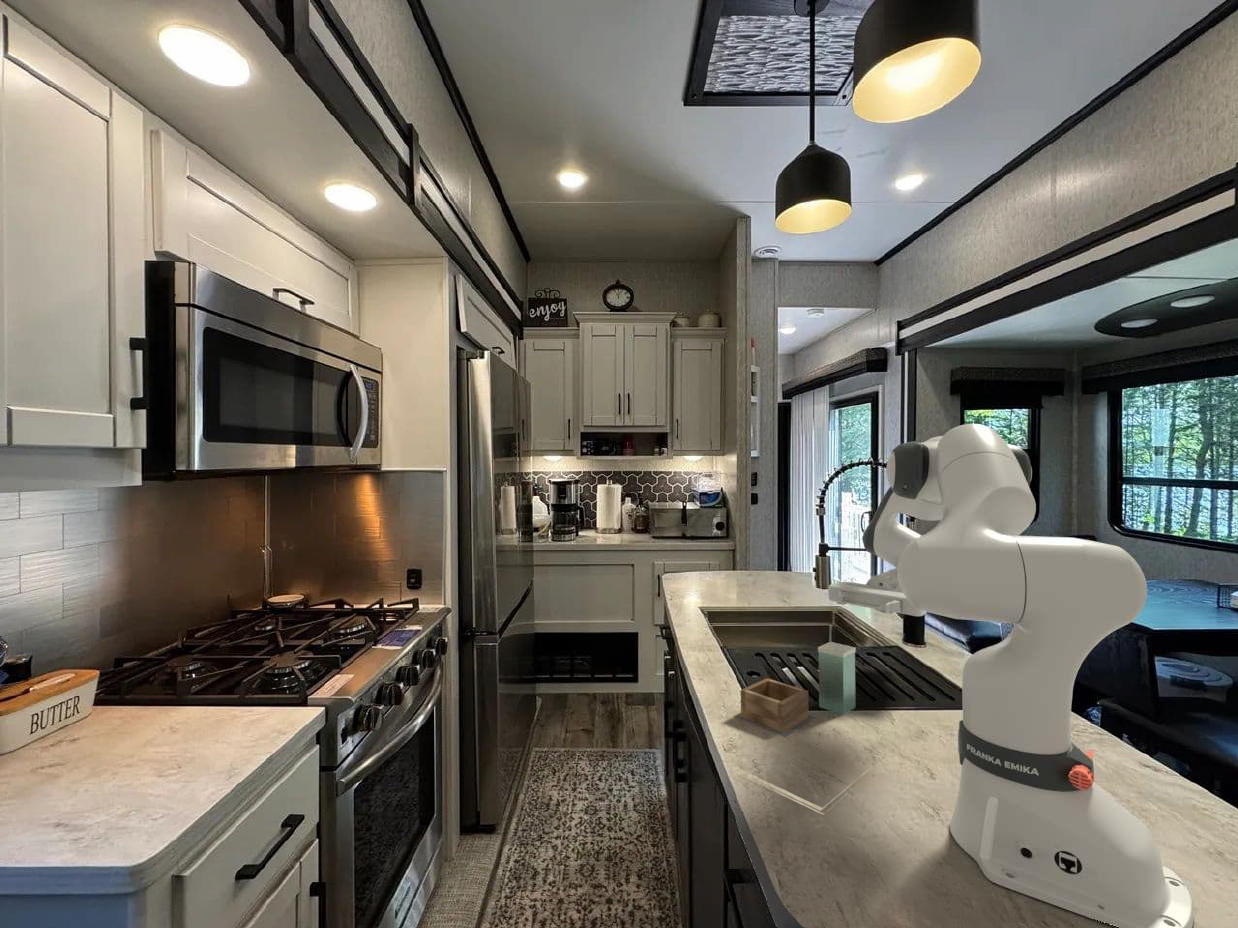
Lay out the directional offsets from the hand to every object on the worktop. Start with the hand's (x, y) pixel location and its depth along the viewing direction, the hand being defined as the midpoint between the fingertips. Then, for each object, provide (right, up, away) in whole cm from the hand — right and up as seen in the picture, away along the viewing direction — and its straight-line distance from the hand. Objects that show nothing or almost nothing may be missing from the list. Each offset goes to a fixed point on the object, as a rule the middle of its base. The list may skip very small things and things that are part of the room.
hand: (860, 604), depth 118 cm
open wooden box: (-22, -18, -13) cm, 31 cm away
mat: (-22, -18, -13) cm, 32 cm away
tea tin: (-9, -19, -9) cm, 22 cm away
